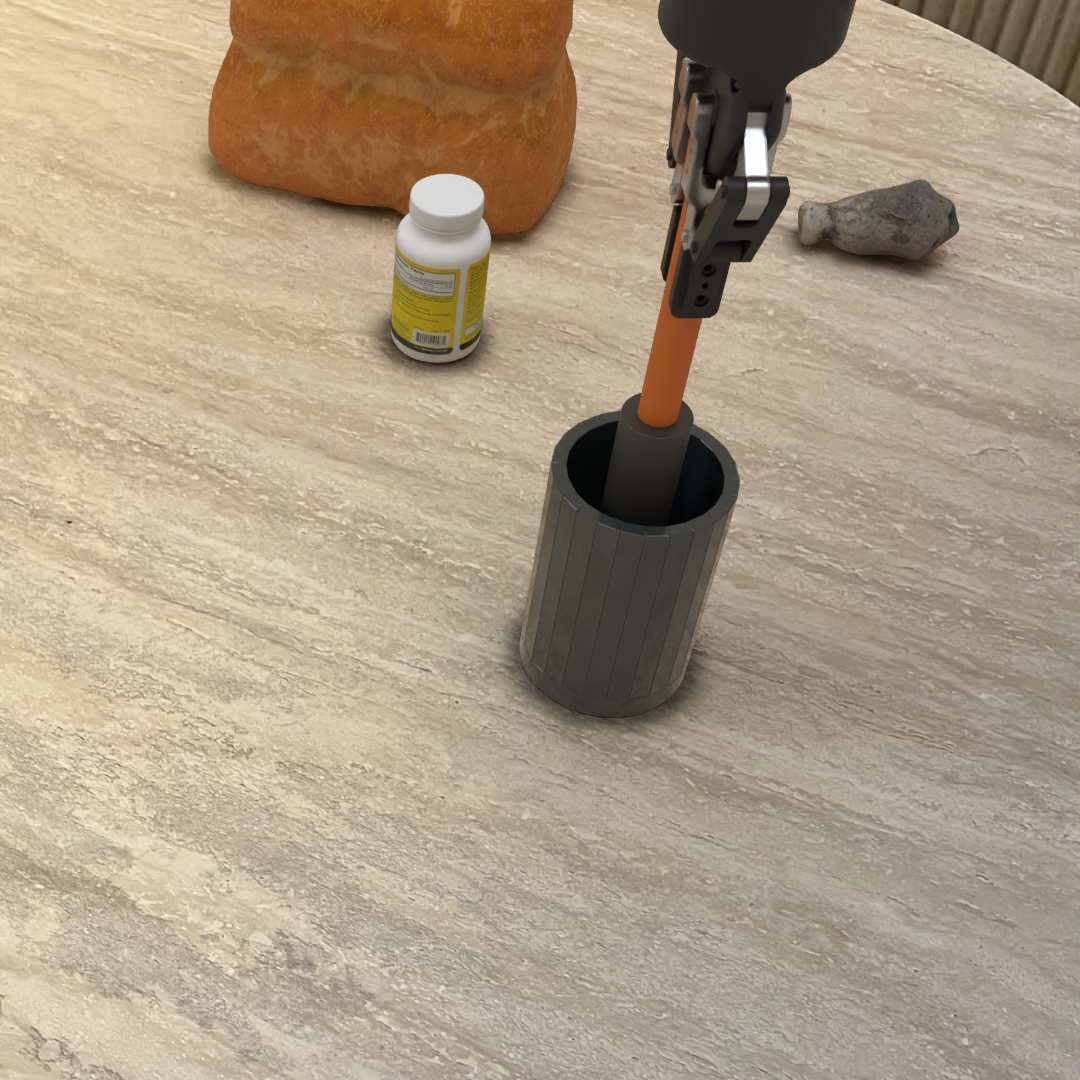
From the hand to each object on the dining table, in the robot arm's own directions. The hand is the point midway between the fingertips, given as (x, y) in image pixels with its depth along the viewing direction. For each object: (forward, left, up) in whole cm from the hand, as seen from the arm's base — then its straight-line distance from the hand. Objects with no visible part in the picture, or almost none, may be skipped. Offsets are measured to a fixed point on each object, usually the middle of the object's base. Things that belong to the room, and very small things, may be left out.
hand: (687, 294), depth 79 cm
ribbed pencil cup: (0, 0, -25) cm, 25 cm away
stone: (-24, -39, -25) cm, 52 cm away
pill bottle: (+8, -29, -25) cm, 39 cm away
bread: (+10, -50, -25) cm, 57 cm away
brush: (0, 0, -15) cm, 15 cm away
